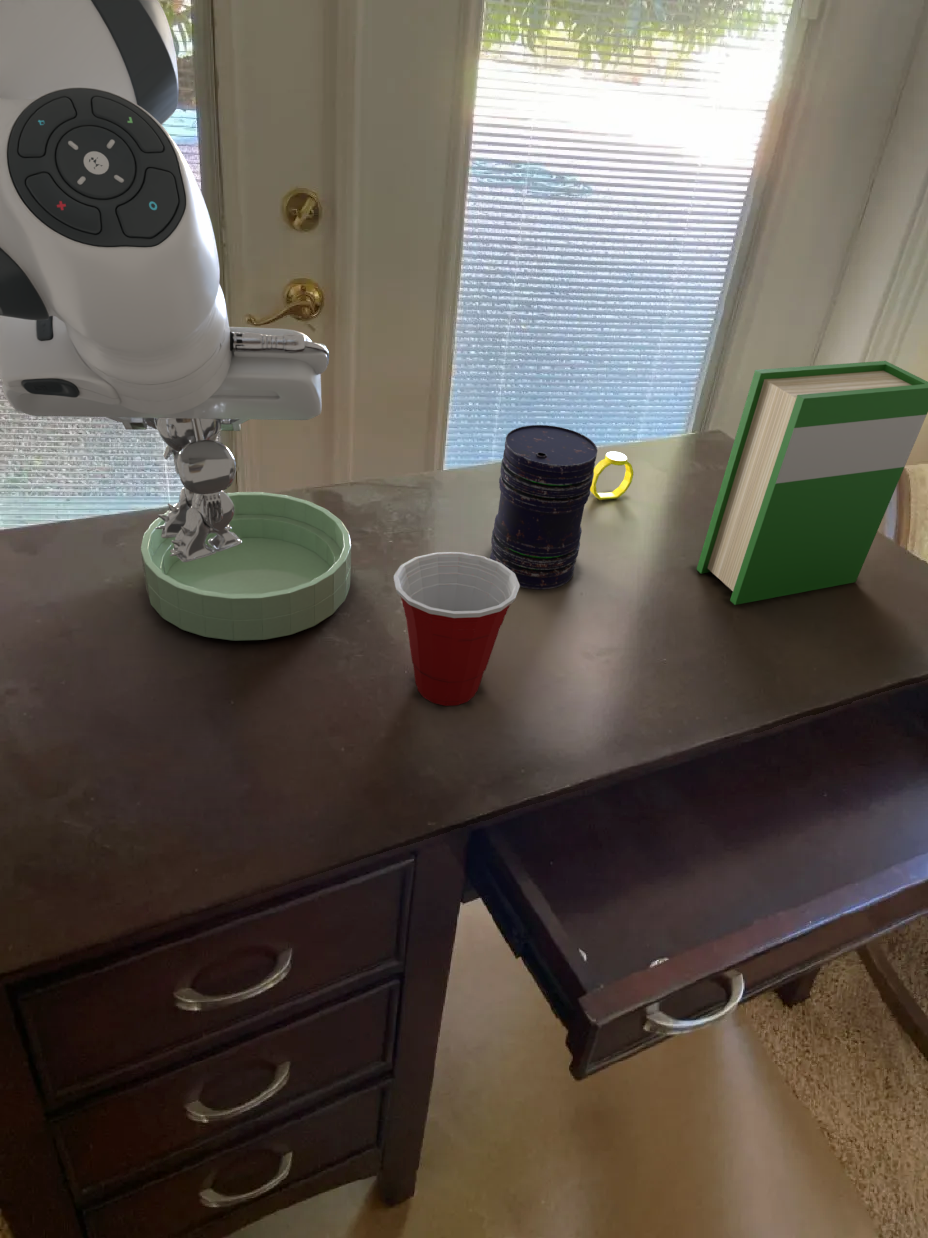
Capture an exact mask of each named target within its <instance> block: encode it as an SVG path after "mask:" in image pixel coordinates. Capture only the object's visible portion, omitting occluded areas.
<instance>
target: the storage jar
mask: <svg viewBox="0 0 928 1238" xmlns="http://www.w3.org/2000/svg"><path fill="white" fill-rule="evenodd" d="M597 456H598V447H597V445H596V443H595V442H594V441H593V440H592V439H590V438H589V437H588V436H586V435H584V434H582V433H580V432H577V431H575V430H573V429H570V428H566V427H561V426H555V425H549V424H548V425H547V424H532V425H531V424H530V425H524V426H519V427H516V428H514V429H512V430H511V431H509V432H508V433H507V434H506V436H505V440H504V450H503V454H502V459H501V463H500V476H499V479H498V483H499V484H498V485H499V487H498V489H499V491H500V495H499V501H498V510H497V514H496V515H495V517H494V523H493V528H492V532H491V539H490V541H491V542H490V543H491V544H490V545H491V547H490V548H491V549H490V555H489V559H492V560H494V561H497V562H499V563H502V564H503V565H504V566H506V567H507V568H508V569H510V570H511V571H512V572H513V573H515V575H516V577H517V580H518V582H519V584H520V587H519V588H525V589H530V590H551V589H556V588H559V587H561V586H563V585H566V584H567V583H569V581H570V580H571V579H572V578H573V576H574V572H575V564H576V563H577V562H576V561H577V558H578V556H579V552H580V546H581V538H582V531H583V530H582V520H583V515H584V512H585V511H584V510H585V506H586V504H587V503H588V501H589V497H590V496H591V491H590V487H591V486H592V481H593V476H594V467H595V466H596V460H597Z"/></svg>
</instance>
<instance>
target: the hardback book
mask: <svg viewBox="0 0 928 1238" xmlns="http://www.w3.org/2000/svg"><path fill="white" fill-rule="evenodd" d="M751 379H752V380H751V383H750V386H749V389H748V393H747V396H746V401H745V403H744V407H743V409H742V413H741V416H740V420H739V424H738V427H737V430H736V433H735V437H734V441H733V444H732V447H731V451H730V455H729V458H728V462H727V464H726V467H725V471H724V475H723V478H722V481H721V485H720V487H719V492H718V495H717V498H716V502H715V504H714V505H715V506H714V509H713V512H712V515H711V518H710V522H709V526H708V529H707V533H706V536H705V539H704V544H703V546H702V549H701V551H700V552H701V553H700V556H699V560H698V563H697V566H696V571H697V572H698V573H699V574H707V573H712V575H714V576H715V577H716V578H717V579H719V580H720V581H721V582H722V583H723V584H724V585H725V586H726V587H727V588H728V589H729V590H730V591H732V593H731V596H730V599H729V601H730V602H731V603H732V604H733V605H734V606H737V605H743V604H747V603H748V604H749V603H752V602H757V601H758V602H759V601H764V600H769V599H773V598H779V597H783V596H784V597H785V596H789V595H794V594H795V595H796V594H799V593H805V592H811V591H817V590H822V589H826V588H832V587H836V586H837V587H838V586H842V585H848V584H853V583H856V582H857V580H858V578H859V575H860V573H861V572H862V568H863V566H864V564H865V561H866V560H867V557H868V554H869V552H870V549H871V547H872V545H873V543H874V539H875V538H876V536H877V534H878V531H879V529H880V526H881V524H882V521H883V519H884V517H885V515H886V512H887V509H888V507H889V505H890V503H891V500H892V498H893V495H894V493H895V490H896V488H897V486H898V483H899V481H900V479H901V477H902V474H903V471H904V469H905V467H906V464H907V462H908V460H909V457H910V456H911V453H912V451H913V449H914V446H915V444H916V441H917V438H918V436H919V434H920V432H921V430H922V427H923V424H924V422H925V420H926V417H927V415H928V380H925V379H924V378H922V377H920V376H917V375H915V374H913V373H912V372H909V371H907V370H906V369H903V368H901V367H899V366H897V365H896V364H893V363H891V362H889V361H887V360H877V361H862V362H850V363H849V362H848V363H834V364H821V365H806V366H805V365H804V366H789V367H778V368H777V367H775V368H764V369H755V370H754V373H753V376H752V378H751Z"/></svg>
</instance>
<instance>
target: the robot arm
mask: <svg viewBox="0 0 928 1238" xmlns="http://www.w3.org/2000/svg"><path fill="white" fill-rule="evenodd" d="M178 71H179V70H178V61H177V54H176V48H175V44H174V38H173V34H172V30H171V27H170V24H169V20H168V18H167V16H166V14H165V11H164V9H163V7H162V5H161V3H160V2H159V0H0V380H1V390H2V392H3V395H4V396H5V399H6V400H7V402H8V403H9V405H10V406H11V407H12V408H13V410H15V411H17V412H18V413H21V414H24V415H27V416H33V417H65V418H66V417H67V418H69V417H70V418H71V417H72V418H107V419H109V420H112V421H115V422H117V423H122V425H123V427H124V429H125V430H126V431H127V430H129V431H131V430H132V431H141V430H142V431H145V430H147V429H148V425H147V422H146V420H145V419H146V418H192V419H194V418H195V419H222V426H221V430H220V432H222V431H224V432H225V431H226V432H241V425H242V424H244V423H246V422H248V421H250V420H259V421H260V420H263V421H264V420H265V421H267V420H268V421H309V420H311V419H312V420H313V419H315V418H316V417H318V416H320V415H321V414H322V409H323V408H322V406H323V405H322V376H321V375H322V374H323V373H324V372H326V370H327V368H328V366H329V360H330V353H329V350H328V348H327V346H326V345H325V344H324V343H321V342H320V343H318V342H315V341H312V340H311V338H310V337H309V336H308V335H306V334H305V333H303V332H301V331H298V330H294V329H289V328H277V327H276V328H274V327H273V328H272V327H249V326H248V327H245V326H244V327H243V326H230V323H229V315H228V310H227V304H226V299H225V295H224V292H223V289H222V287H221V283H220V279H221V278H220V276H221V270H220V260H219V253H218V248H217V243H216V242H217V241H216V237H215V233H214V232H215V231H214V228H213V223H212V220H211V217H210V213H209V210H208V208H207V204H206V202H205V198H204V196H203V193H202V190H201V189H200V186H199V184H198V181H197V178H196V177H195V175H194V173H193V171H192V168H191V166H190V165H189V162H188V161H187V160H186V158H185V156H184V155H183V153H182V151H181V150H180V147H179V145H177V143H176V142H175V140H174V139H173V138H172V136H171V135H170V133H169V132H168V131H167V130H166V129H165V127H164V126H163V125H164V124H165V123H166V122H167V121H168V120H169V119H170V118H171V117H172V116H173V114H175V112H176V109H177V107H178V103H179V72H178Z"/></svg>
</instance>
